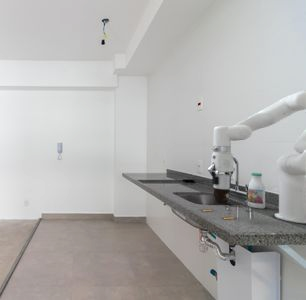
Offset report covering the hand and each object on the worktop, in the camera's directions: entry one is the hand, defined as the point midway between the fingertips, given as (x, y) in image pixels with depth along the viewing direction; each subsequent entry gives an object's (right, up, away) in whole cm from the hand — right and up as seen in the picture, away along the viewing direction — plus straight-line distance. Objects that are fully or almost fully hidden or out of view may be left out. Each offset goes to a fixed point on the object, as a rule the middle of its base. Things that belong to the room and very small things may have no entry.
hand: (221, 183), depth 107 cm
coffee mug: (+14, -16, +23) cm, 31 cm away
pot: (0, -2, 0) cm, 2 cm away
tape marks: (-2, -16, -1) cm, 16 cm away
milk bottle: (+30, -16, +14) cm, 37 cm away
